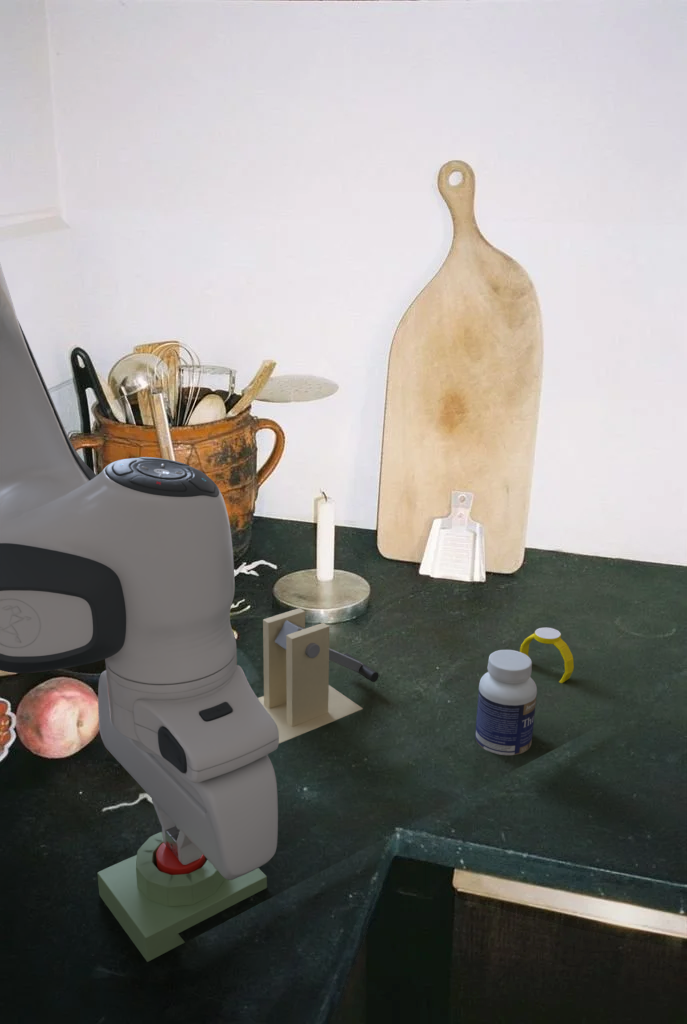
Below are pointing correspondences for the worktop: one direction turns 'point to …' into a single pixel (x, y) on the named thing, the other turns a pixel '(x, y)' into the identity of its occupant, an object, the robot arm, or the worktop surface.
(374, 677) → the lever
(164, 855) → the button
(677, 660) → the worktop surface
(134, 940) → the block
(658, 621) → the worktop surface
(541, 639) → the watch
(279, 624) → the tan bracket
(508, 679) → the pill bottle
